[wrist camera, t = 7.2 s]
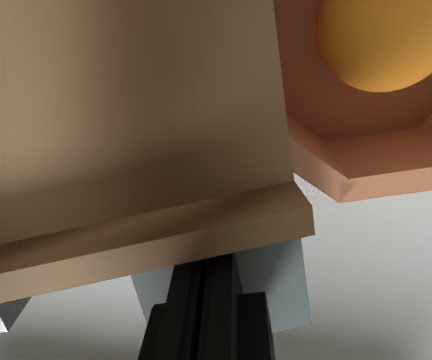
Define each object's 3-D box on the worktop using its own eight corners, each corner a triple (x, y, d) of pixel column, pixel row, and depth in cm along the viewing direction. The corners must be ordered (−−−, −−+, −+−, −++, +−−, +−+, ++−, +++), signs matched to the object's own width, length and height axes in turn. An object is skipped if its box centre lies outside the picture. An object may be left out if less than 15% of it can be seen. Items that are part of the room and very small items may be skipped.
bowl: (524, -192, 12) (674, -290, 8) (492, 125, 16) (579, 169, 12) (199, -113, 13) (182, -162, 9) (245, 163, 17) (248, 215, 13)
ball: (401, -54, 13) (510, -82, 10) (401, 69, 15) (493, 84, 11) (288, -31, 13) (358, -52, 9) (301, 93, 14) (364, 118, 11)
